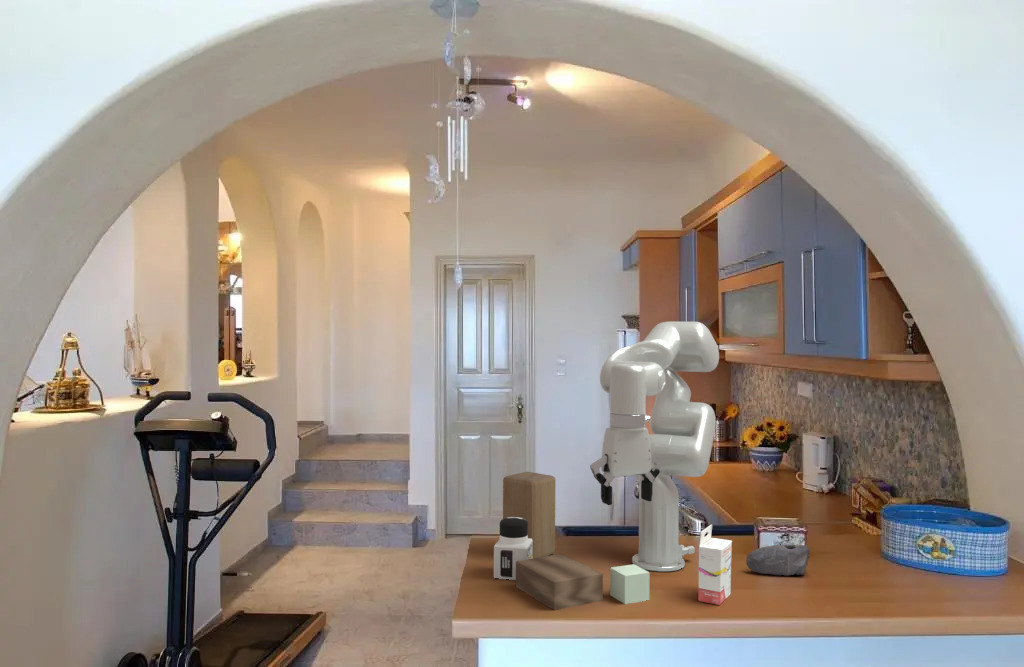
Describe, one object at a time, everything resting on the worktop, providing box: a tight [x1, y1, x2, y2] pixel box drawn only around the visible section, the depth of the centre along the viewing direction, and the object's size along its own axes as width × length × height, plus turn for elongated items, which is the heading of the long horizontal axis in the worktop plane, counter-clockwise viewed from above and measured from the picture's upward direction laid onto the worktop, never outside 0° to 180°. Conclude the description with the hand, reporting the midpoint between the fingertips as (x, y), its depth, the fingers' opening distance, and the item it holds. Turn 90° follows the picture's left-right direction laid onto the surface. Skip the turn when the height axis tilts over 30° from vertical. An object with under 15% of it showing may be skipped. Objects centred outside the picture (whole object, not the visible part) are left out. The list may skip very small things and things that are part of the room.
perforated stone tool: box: [745, 544, 811, 577], centre depth 178 cm, size 15×5×7 cm, turn 84°
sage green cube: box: [609, 563, 651, 605], centre depth 162 cm, size 6×6×6 cm
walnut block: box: [515, 553, 604, 611], centre depth 164 cm, size 12×16×6 cm
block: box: [502, 471, 556, 559], centre depth 192 cm, size 10×10×20 cm
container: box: [493, 517, 533, 581], centre depth 176 cm, size 8×8×13 cm
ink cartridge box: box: [697, 524, 733, 606], centre depth 162 cm, size 9×5×15 cm, turn 149°
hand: (626, 501), depth 162 cm, fingers open, 9 cm apart
